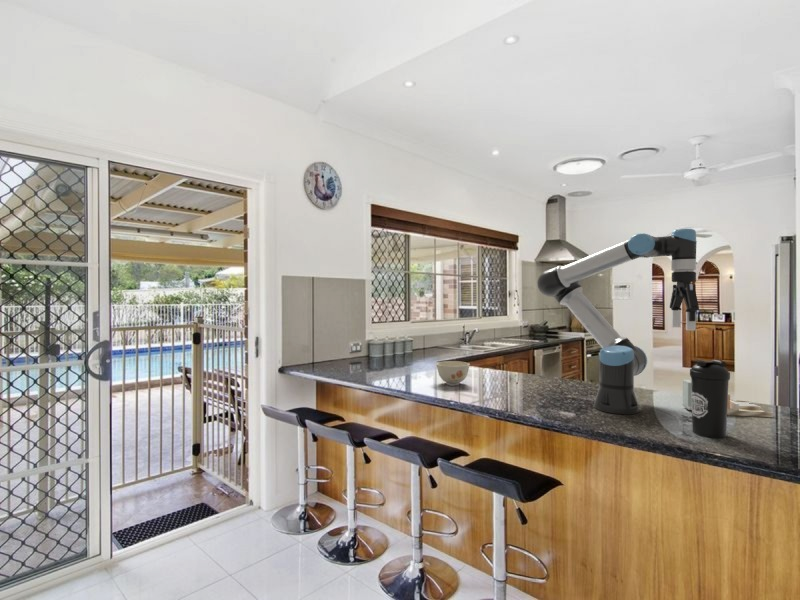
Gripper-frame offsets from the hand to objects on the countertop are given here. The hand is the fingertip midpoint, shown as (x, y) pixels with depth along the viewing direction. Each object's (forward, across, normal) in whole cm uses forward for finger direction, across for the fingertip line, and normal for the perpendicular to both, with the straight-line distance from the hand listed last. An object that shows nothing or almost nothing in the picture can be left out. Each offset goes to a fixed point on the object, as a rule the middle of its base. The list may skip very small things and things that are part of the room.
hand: (683, 328), depth 157 cm
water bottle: (+31, -26, +2) cm, 40 cm away
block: (+29, +3, -13) cm, 32 cm away
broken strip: (+31, +11, -20) cm, 38 cm away
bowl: (+31, +27, +89) cm, 98 cm away
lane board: (+31, +7, -18) cm, 36 cm away
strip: (+31, +3, -10) cm, 32 cm away
